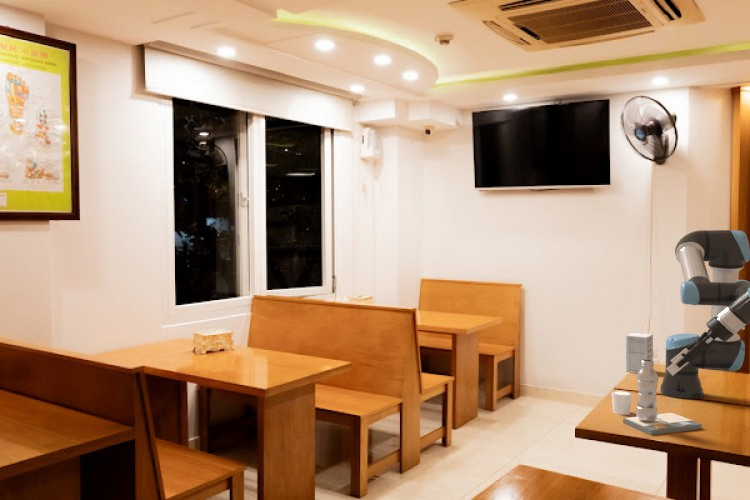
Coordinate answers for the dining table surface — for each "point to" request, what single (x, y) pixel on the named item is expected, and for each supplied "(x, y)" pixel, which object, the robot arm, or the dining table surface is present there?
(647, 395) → the plastic bottle
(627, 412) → the white cup
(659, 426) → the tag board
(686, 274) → the robot arm
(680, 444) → the dining table surface
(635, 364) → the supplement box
